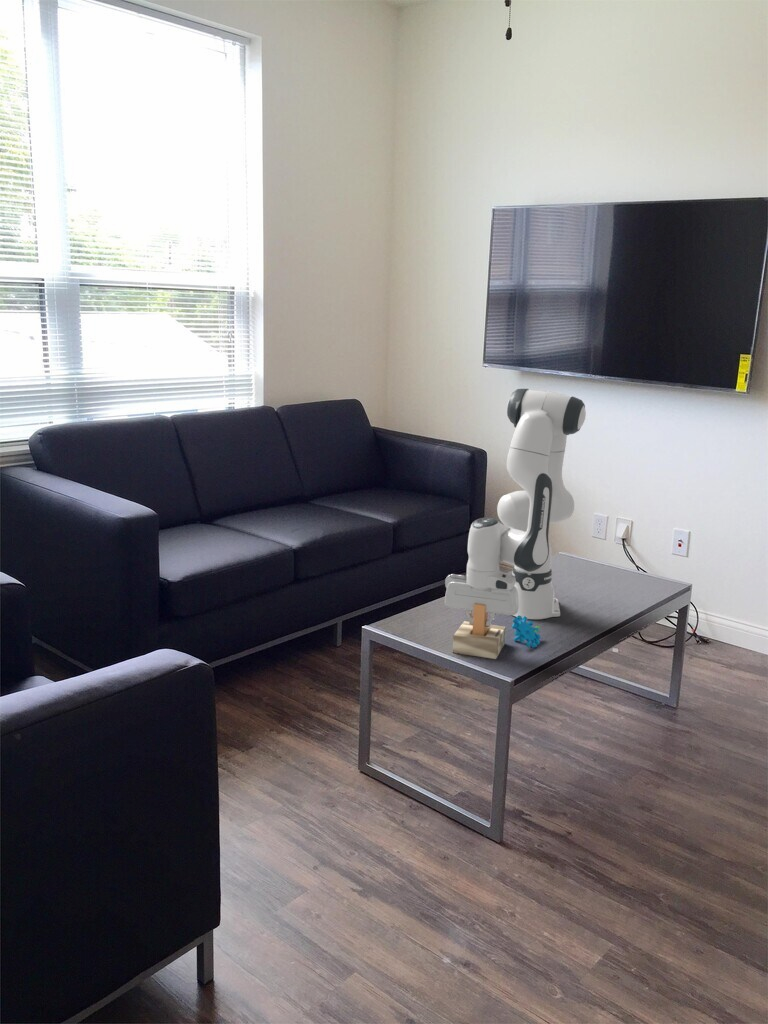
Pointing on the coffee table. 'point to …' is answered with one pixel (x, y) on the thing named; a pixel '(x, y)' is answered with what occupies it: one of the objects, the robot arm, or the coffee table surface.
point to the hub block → (479, 641)
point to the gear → (526, 632)
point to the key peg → (479, 620)
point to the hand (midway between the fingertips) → (480, 625)
